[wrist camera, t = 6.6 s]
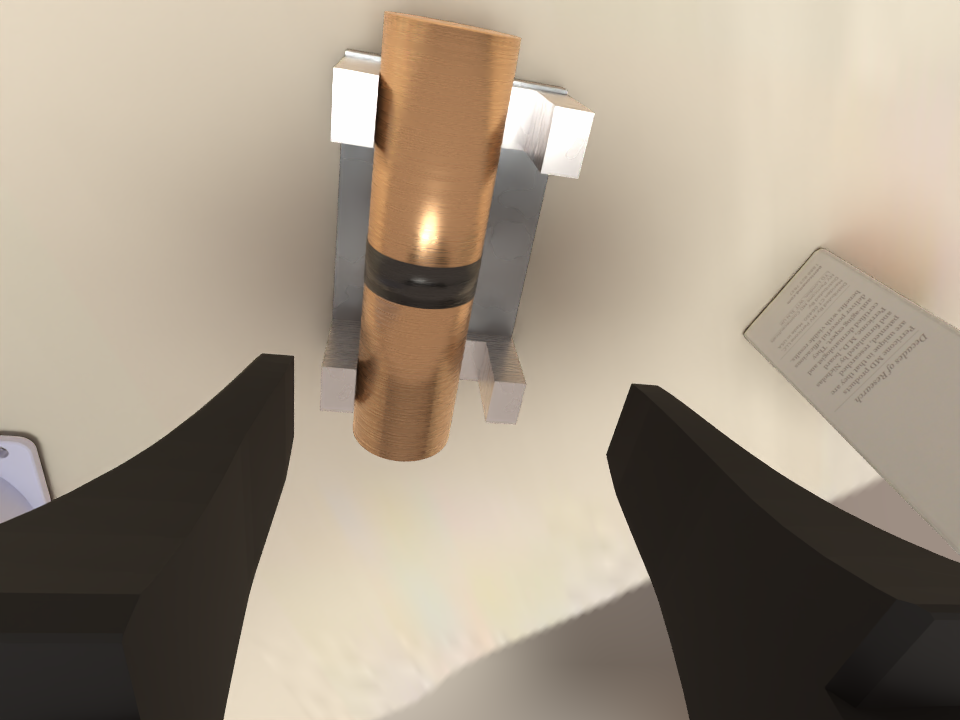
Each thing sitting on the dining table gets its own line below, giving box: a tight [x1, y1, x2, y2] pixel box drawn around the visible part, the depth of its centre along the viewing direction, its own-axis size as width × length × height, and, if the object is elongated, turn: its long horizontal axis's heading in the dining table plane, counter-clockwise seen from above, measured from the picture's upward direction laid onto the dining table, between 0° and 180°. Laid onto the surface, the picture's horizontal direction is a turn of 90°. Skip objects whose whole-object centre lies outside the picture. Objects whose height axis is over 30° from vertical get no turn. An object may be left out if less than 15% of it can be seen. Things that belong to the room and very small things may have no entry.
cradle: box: [320, 49, 595, 424], centre depth 18 cm, size 6×10×4 cm, turn 170°
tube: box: [353, 11, 521, 461], centre depth 17 cm, size 12×3×3 cm, turn 170°
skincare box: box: [744, 249, 960, 555], centre depth 18 cm, size 6×4×12 cm
